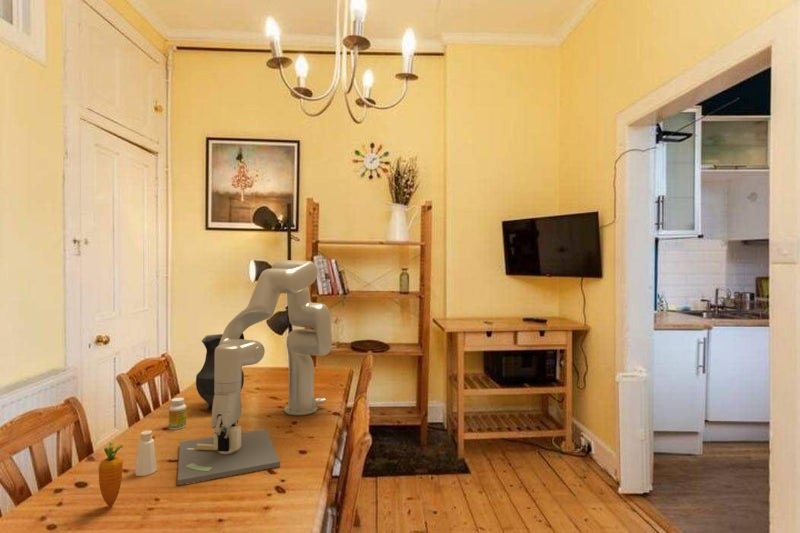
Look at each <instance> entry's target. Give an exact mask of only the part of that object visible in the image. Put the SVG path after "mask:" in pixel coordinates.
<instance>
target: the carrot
mask: <svg viewBox="0 0 800 533" xmlns="http://www.w3.org/2000/svg"><path fill="white" fill-rule="evenodd" d="M108 446H109V447H108ZM108 446H105V447H104V449H103V451H104V453H105V455H106V456H107V457H106V458H104V459H102V460H100V462H99V465H98V483H99V490H100V493H101V496H102V500H103V501H104V503H105V504H106V505H107V506H108V507H110V506H111V507H112V506H113V505H114V504H115V502H116V500H117V498H118V496H119V493H120V490H121V484H122V479H123V469H124V468H123V467H124V466H123V465H124V464H123V463H124V462H123V460H124V459H123V458H122V457H120V456H116V454H117V453H118V451H119V450H120V449H121V448H123V445H122V444H120V445H119V446H117V447H116V448H115V450H114V442H109V445H108Z"/></svg>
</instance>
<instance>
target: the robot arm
mask: <svg viewBox="0 0 800 533" xmlns="http://www.w3.org/2000/svg"><path fill="white" fill-rule="evenodd" d="M318 274H319V270H318V266H317V265H316V264H315V262H313V261H311V260H295V259H294V260H289V259H287V260H285V259H284V260H277V261H275V262H274V263H273V264H272V265H271V268H266V269H264V270H263V271H261V273H260V275H259V277H258V279H257V282H256V284H255V287H254V290H253V292H252V294H251V297H250V300H249V302H248V304H247V306H246V308H244V309H243V310H241V311H240V312H239V313H238V314H236V315H235V316H234V318H232V320H231V321H229V323H228V324H227V325H226V326H225V328H224V331H223V333H222V334H223V335H222V337H221V340H220V343H219V346H217V347H216V349H215V380H214V393H215V394H214V399H213V406H212V412H211V425H210V427H211V428H212V429H213V434H214V433H215V434H216V435H217V438H218V451H225V452H228V451H229V437H228V431H229V427H230V426H239V425H238V423H239V420H240V418H241V415H242V394H241V392H242V390H241V381H242V370H243V369H242V367H245V366H253V365H257V364H258V363H260V362H261V360H262V359H263V358H264V355H265V353H266V352H265V346H264V345H263V343H261V342H260V341H258V340H254V339H245V338H244V339H239V338H240V336H241V334H242V333H243V334H244V332H245V331H246V330H247V329H249V328H250V327H252V326H254V325H256V324H258V323H261V322H263V321H265V320H268V319H270V318H271V317H272V316H273V315H274V313H275V310H276V306H277V304H278V301H279V298H280V296H281V294H286V298H287V299H286V300H287V311H288V319H289V323H290V324H291V326H294V327H297V328H296V329H293V330H291V331H290V332H289V333H288V335H287V337H286V348H287V353H288V354H287V355H288V404H287V405H285V406H284V408H283V409H284V412H285V414H288V415H290V416H306V415H311V414H313V413H315V412H317V411H318V405H323V404H326V403H327V401H326V400H327V399H326V398H321V397H315V396H314V394H315V393H314V390H315V389H314V388H315V386H314V384H315V383H314V382H315V362H314V360H313V359H312V357H311V356H318V357H319V356H320V357H321V356H327V355H328V354H329V353H330V351H331V349H332V344H333V343H332V341H333V339H332V337H333V336H332V322H331V321H332V319H331V312H330V309H329V308H328V306H327V305H326V304H325V303H321V302H312V301H311V294H310V288H309V286H311V285H313V284H314V283H315V281H316V280H317V278H318ZM306 328H312V329H306ZM240 391H241V392H240ZM222 426H224V427H222ZM214 429H215V430H214ZM221 429H225V433H224V431H222V430H221Z"/></svg>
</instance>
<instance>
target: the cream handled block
mask: <svg viewBox="0 0 800 533" xmlns="http://www.w3.org/2000/svg"><path fill="white" fill-rule="evenodd" d="M222 427H224V425H222ZM214 430H215V428H213V431H214ZM221 430H222V431H224V433H225V429H221ZM241 433H242V426H239V425H238V426H230V427H229V431H228V437H229V451H228V452H225V451H218V452H219V453H220V454H231V453H233V452H235V451H237V450H238V449H239V448H240V447H241ZM213 437H214V444H197V445H196V449H199V450H218V438H217V435H216V434H215V433H214V432H213Z"/></svg>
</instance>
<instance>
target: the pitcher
mask: <svg viewBox="0 0 800 533" xmlns="http://www.w3.org/2000/svg"><path fill="white" fill-rule="evenodd" d="M222 335H223V333H222V334H221V333H219V334H206V335H205V336H204V337H203V338H202V339H201V343H202V344H203V346H204V347H205V349H206V353H205V359H204V360H205V361H204V363H203V366H202V368H201V369H200V371H199V372H198V373H197V374H196V376H195V386H196V391H197V393H198V395H199V397H201V399H202V400H204V401H205V402H206V403H207V404H208V406H207V408H206V410H207V411H208V412H211V413H212V406H213V399H214V394H215V393H214V380H215V349H216V347H217V346H219V343H220V340H221V337H222ZM239 339H245V335H244V332H243V333H242V334H241V336H240V338H239ZM244 381H245V374H244V371H243V369H242V381H241V391H240V393H241V392H242V391H243V390H242V389H244V384H245V382H244Z"/></svg>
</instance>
